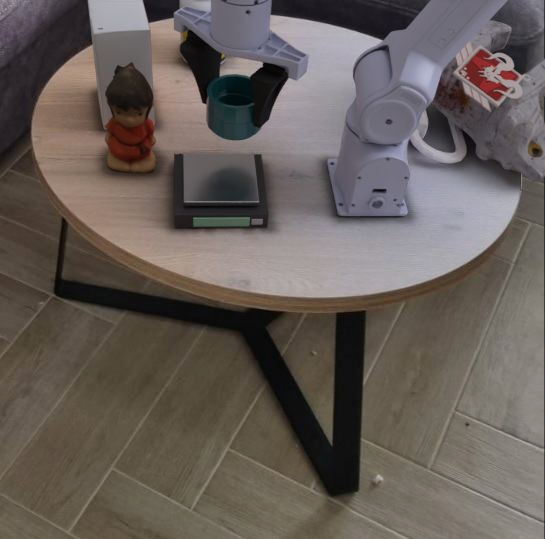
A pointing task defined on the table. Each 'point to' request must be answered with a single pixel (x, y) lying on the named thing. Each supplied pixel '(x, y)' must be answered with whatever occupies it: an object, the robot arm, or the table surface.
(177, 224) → the scale base
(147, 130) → the figurine
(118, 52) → the small box
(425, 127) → the white looped part
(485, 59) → the decorative emblem
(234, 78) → the cup
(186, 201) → the pan
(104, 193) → the table surface
